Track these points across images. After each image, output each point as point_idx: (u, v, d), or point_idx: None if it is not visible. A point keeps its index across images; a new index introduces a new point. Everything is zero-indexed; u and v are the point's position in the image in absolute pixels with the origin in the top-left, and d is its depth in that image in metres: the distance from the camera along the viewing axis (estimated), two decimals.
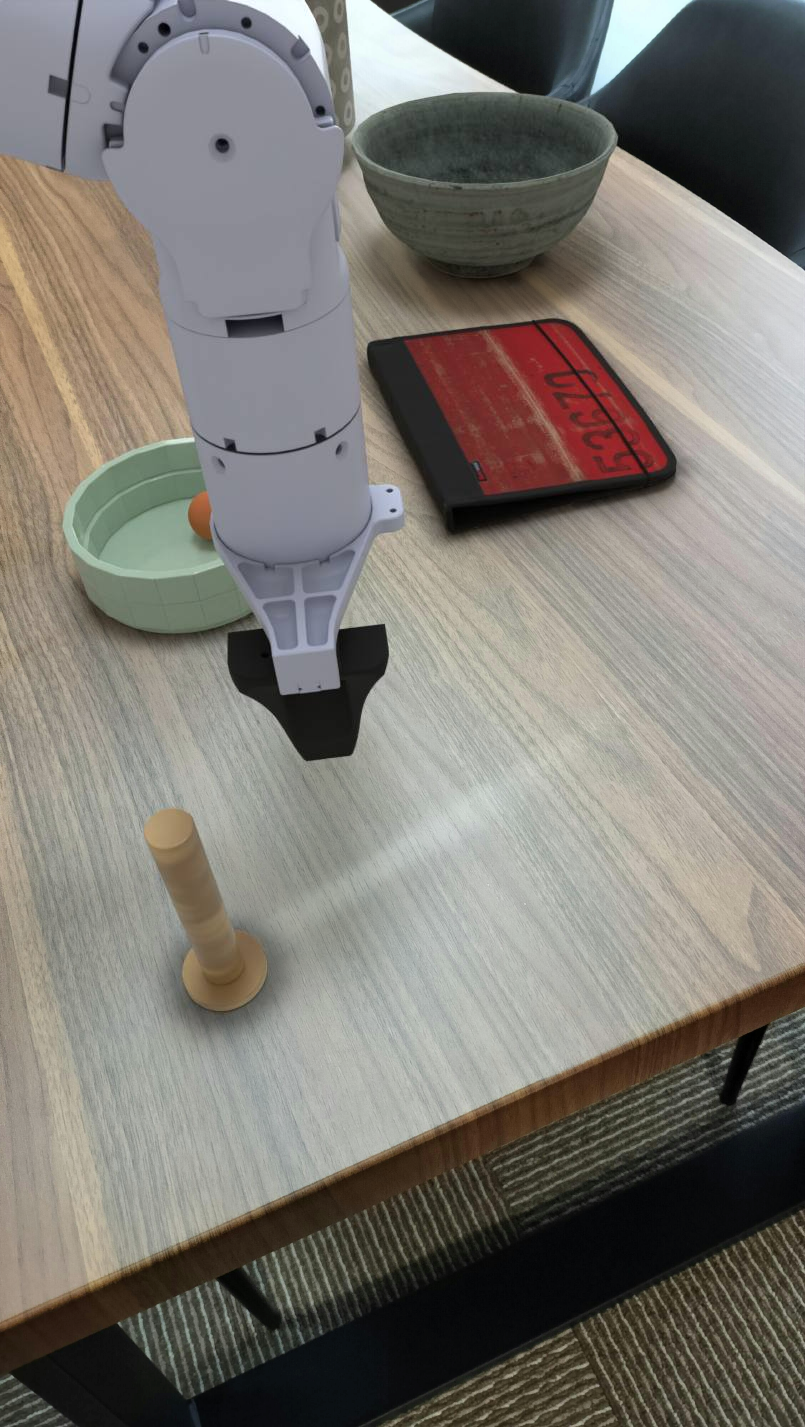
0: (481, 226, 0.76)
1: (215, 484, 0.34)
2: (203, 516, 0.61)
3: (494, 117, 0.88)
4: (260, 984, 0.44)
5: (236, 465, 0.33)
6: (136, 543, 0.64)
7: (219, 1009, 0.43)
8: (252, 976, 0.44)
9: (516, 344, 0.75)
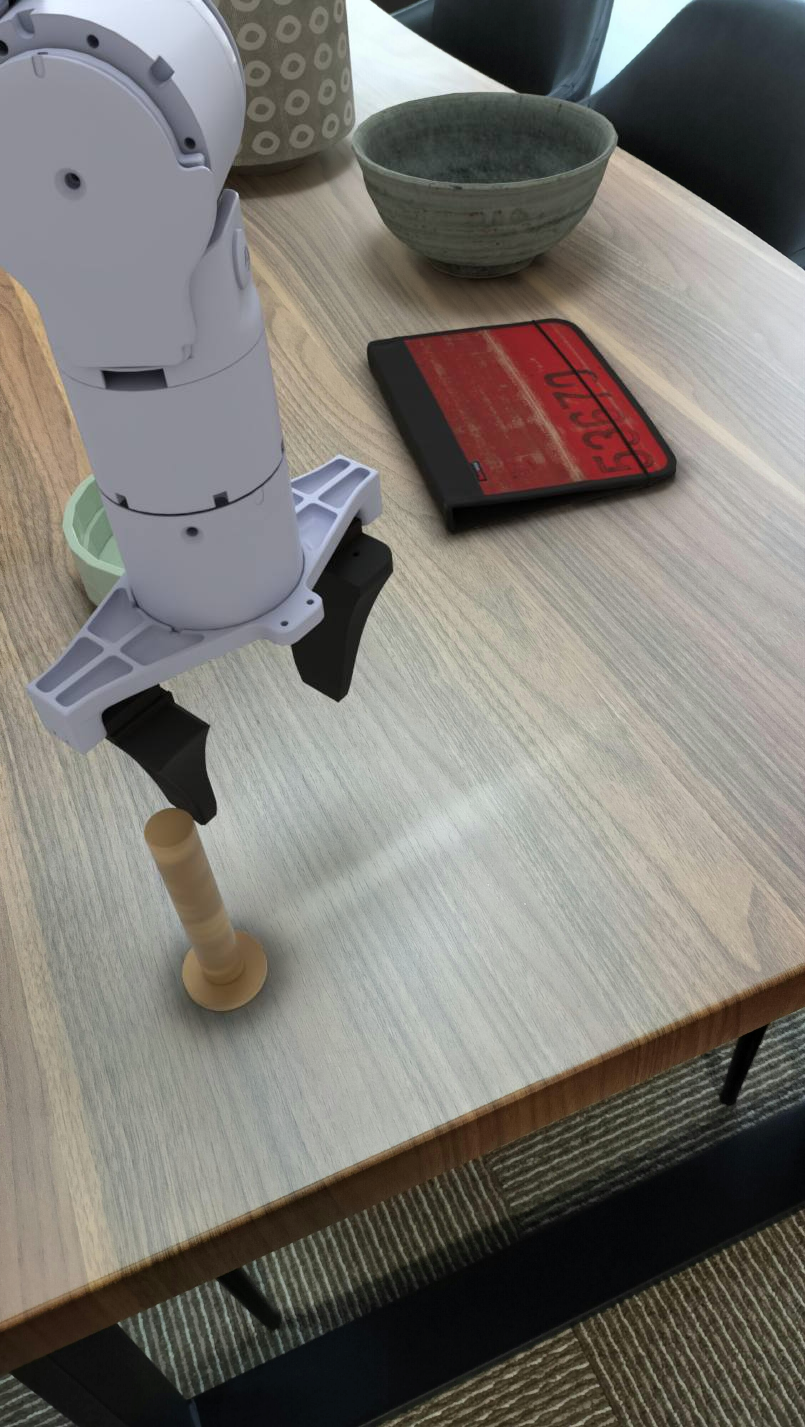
0: (481, 226, 0.76)
1: None
2: None
3: (494, 117, 0.88)
4: (260, 984, 0.44)
5: (100, 495, 0.30)
6: None
7: (219, 1009, 0.43)
8: (252, 976, 0.44)
9: (516, 344, 0.75)
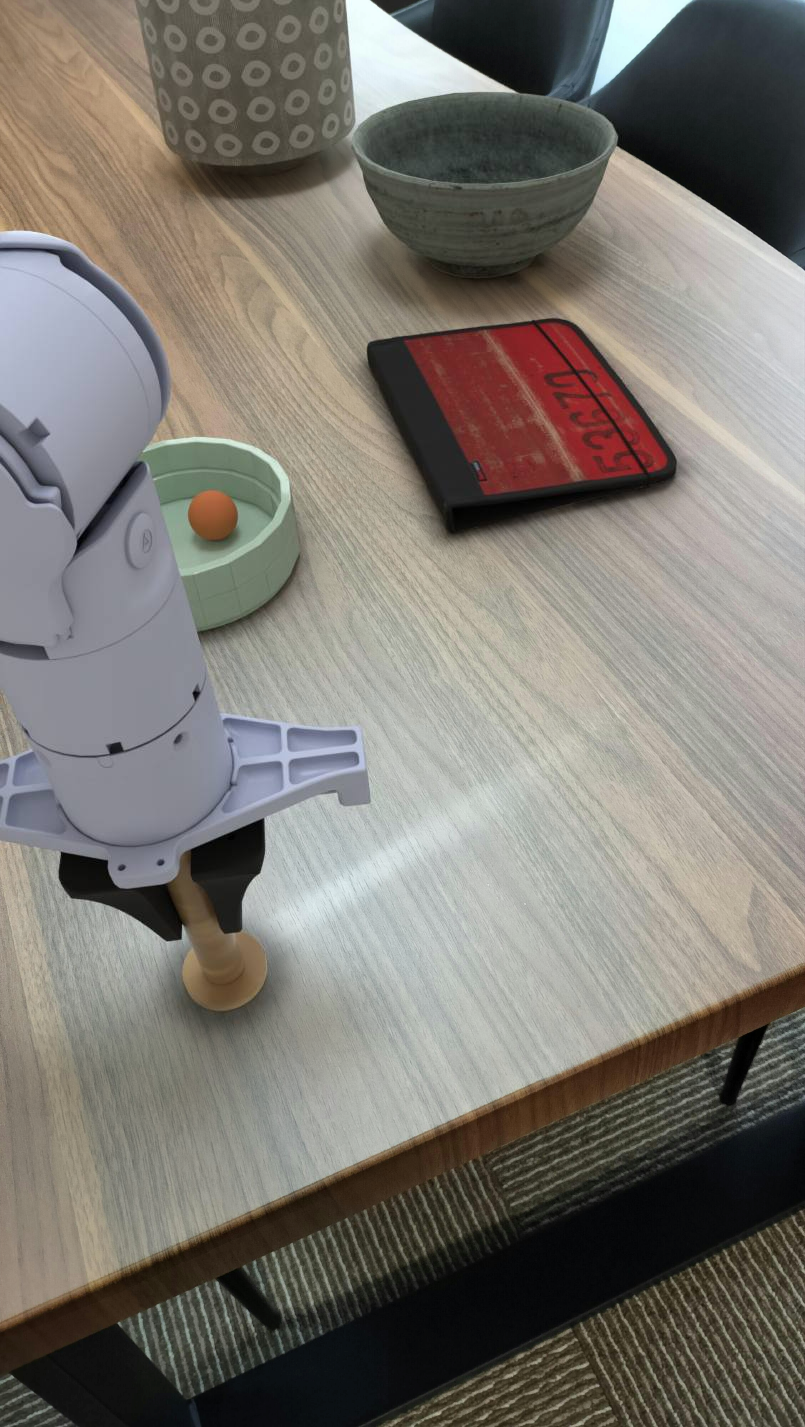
0: (481, 226, 0.76)
1: None
2: (203, 516, 0.61)
3: (494, 117, 0.88)
4: (260, 984, 0.44)
5: None
6: None
7: (219, 1009, 0.43)
8: (252, 976, 0.44)
9: (516, 344, 0.75)
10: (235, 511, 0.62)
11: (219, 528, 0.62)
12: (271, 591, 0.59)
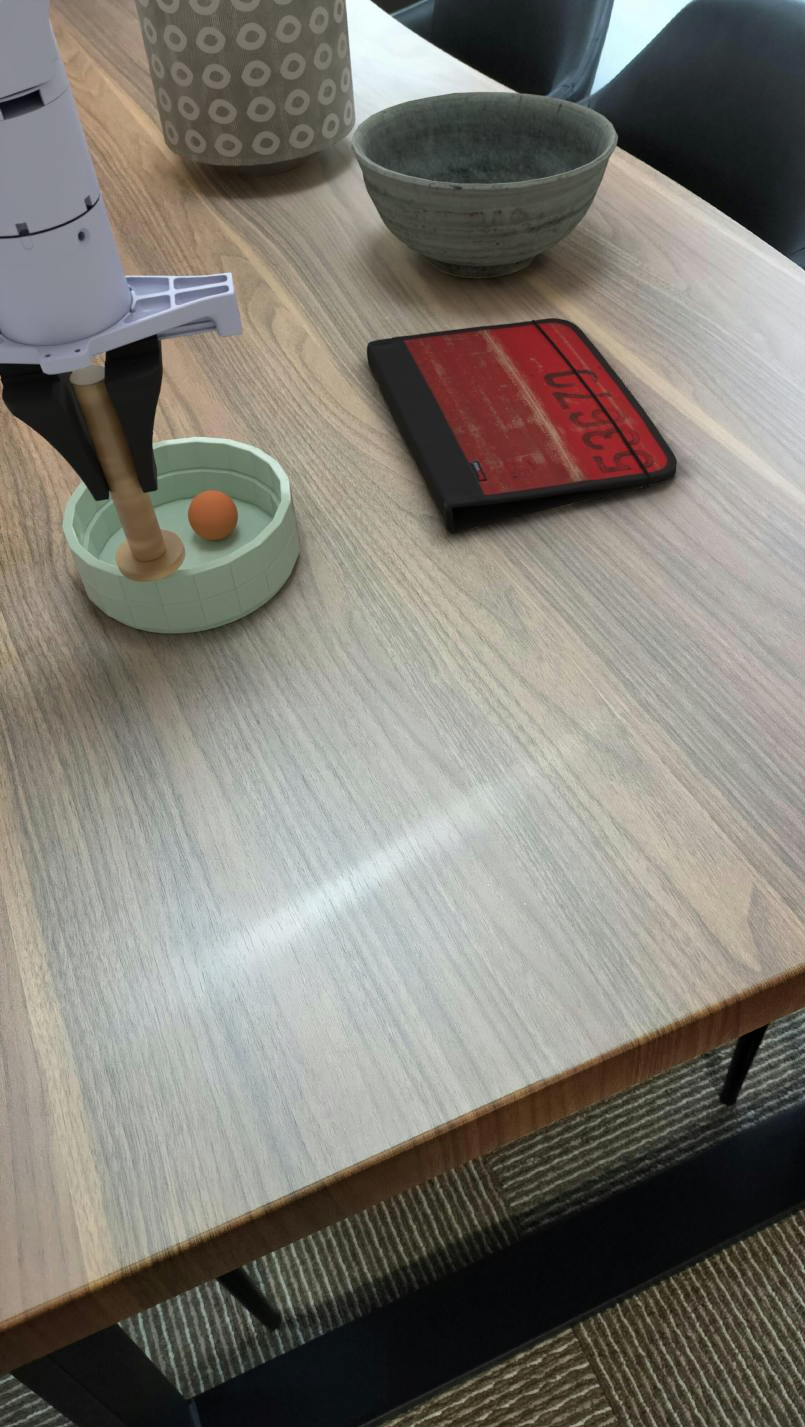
0: (481, 226, 0.76)
1: None
2: (203, 516, 0.61)
3: (494, 117, 0.88)
4: (179, 561, 0.54)
5: None
6: None
7: (147, 579, 0.53)
8: (172, 554, 0.54)
9: (516, 344, 0.75)
10: (235, 511, 0.62)
11: (219, 528, 0.62)
12: (271, 591, 0.59)
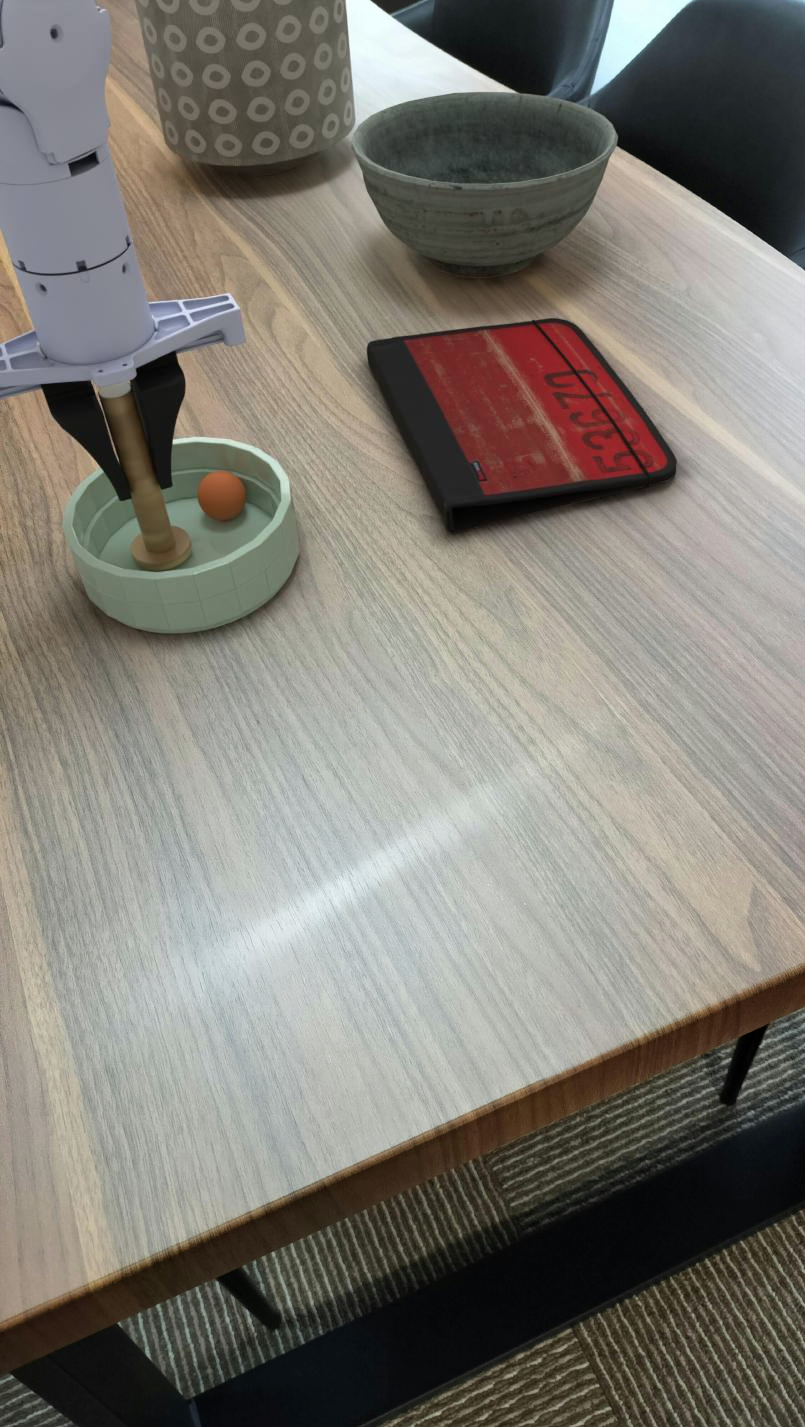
0: (481, 226, 0.76)
1: None
2: (218, 472, 0.63)
3: (494, 117, 0.88)
4: (189, 549, 0.62)
5: None
6: None
7: (165, 567, 0.61)
8: (182, 544, 0.62)
9: (516, 344, 0.75)
10: (245, 493, 0.64)
11: (228, 483, 0.63)
12: (271, 591, 0.59)
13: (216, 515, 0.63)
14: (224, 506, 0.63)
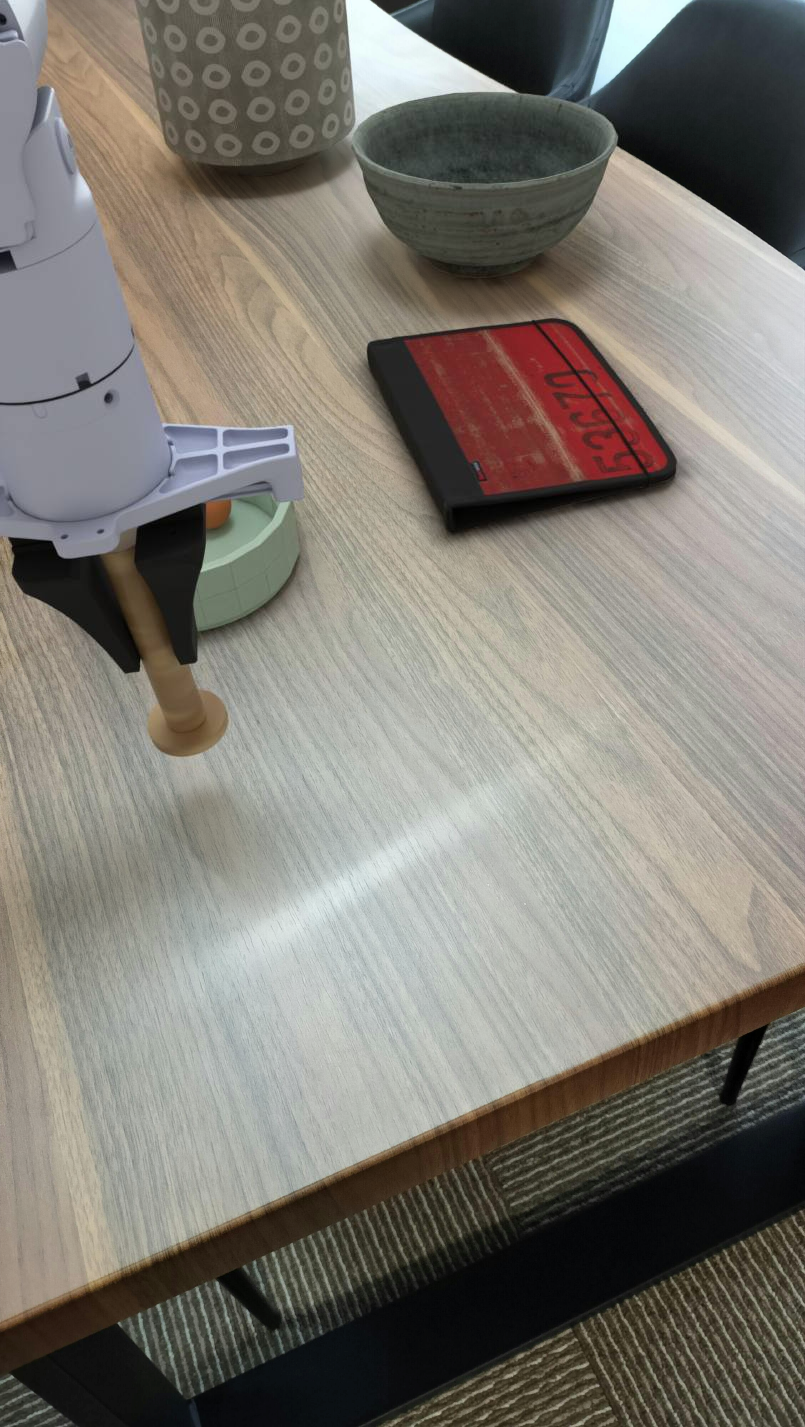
0: (481, 226, 0.76)
1: None
2: None
3: (494, 117, 0.88)
4: (221, 732, 0.46)
5: None
6: None
7: (182, 754, 0.45)
8: (213, 724, 0.46)
9: (516, 344, 0.75)
10: None
11: None
12: (271, 591, 0.59)
13: (212, 528, 0.64)
14: (212, 523, 0.63)
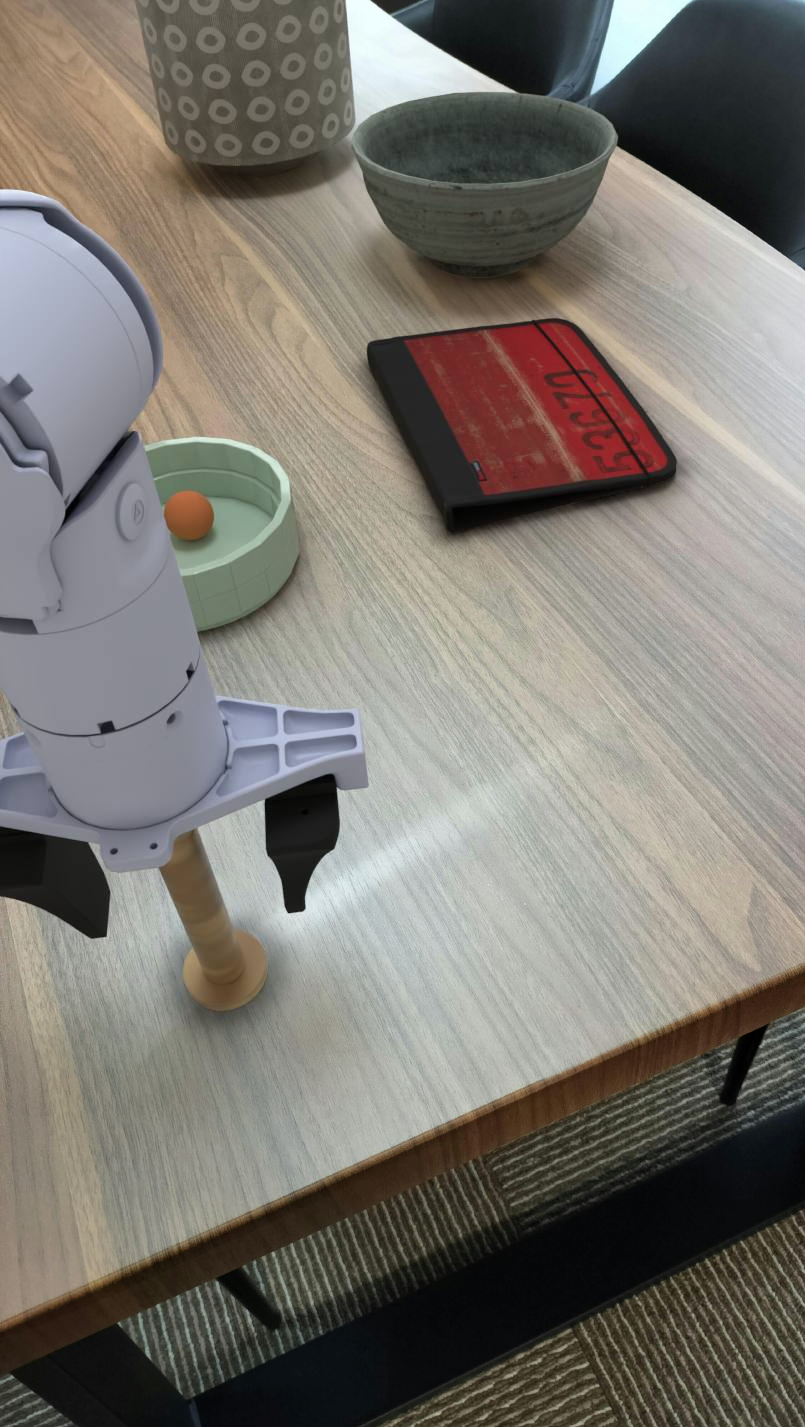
0: (481, 226, 0.76)
1: None
2: (166, 524, 0.62)
3: (494, 117, 0.88)
4: (261, 984, 0.44)
5: None
6: None
7: (220, 1009, 0.43)
8: (253, 976, 0.44)
9: (516, 344, 0.75)
10: (193, 509, 0.61)
11: (181, 531, 0.62)
12: (271, 591, 0.59)
13: (208, 530, 0.63)
14: (202, 535, 0.63)
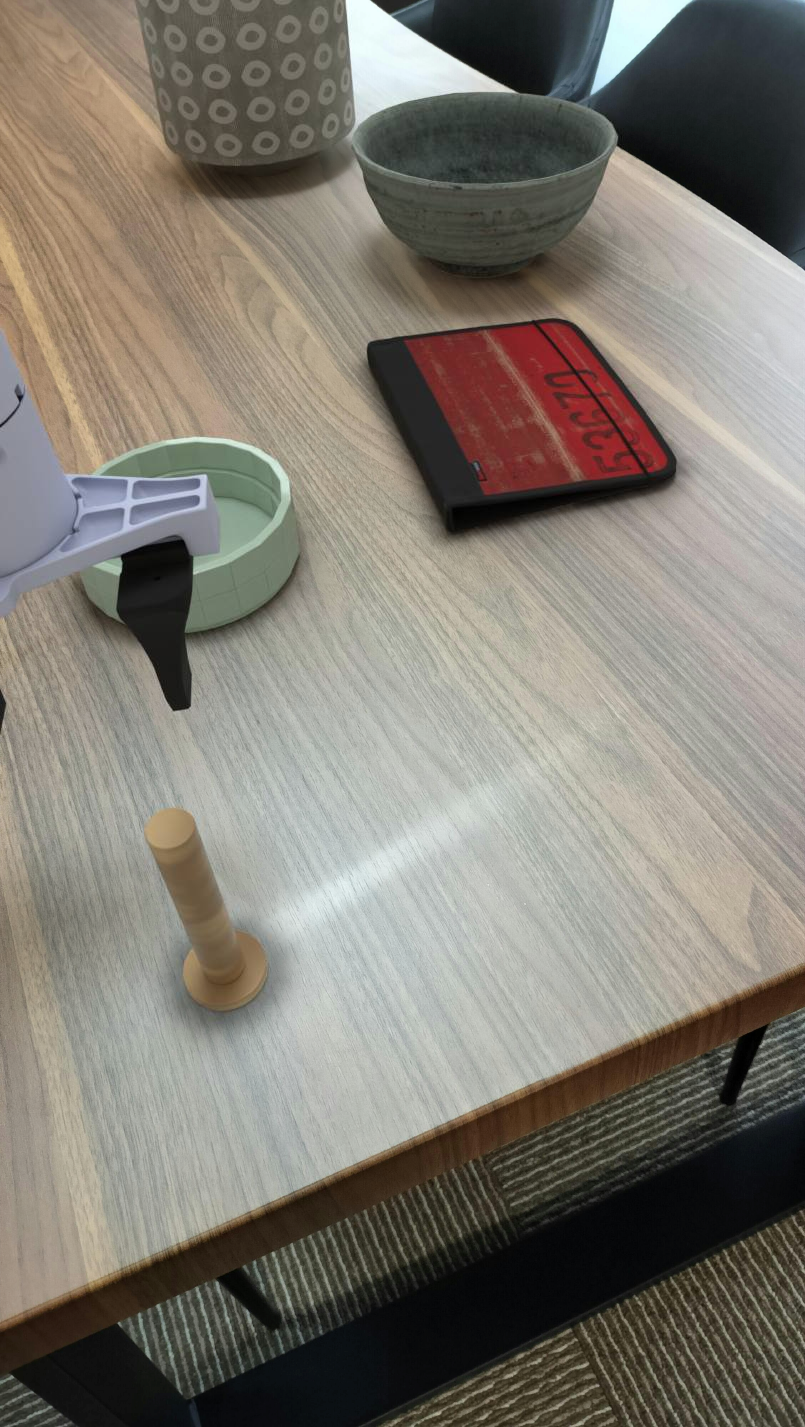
0: (481, 226, 0.76)
1: None
2: None
3: (494, 117, 0.88)
4: (261, 984, 0.44)
5: None
6: None
7: (220, 1009, 0.43)
8: (253, 976, 0.44)
9: (516, 344, 0.75)
10: None
11: None
12: (271, 591, 0.59)
13: None
14: None
